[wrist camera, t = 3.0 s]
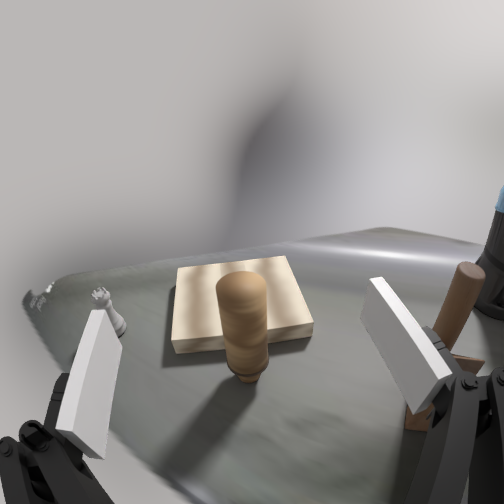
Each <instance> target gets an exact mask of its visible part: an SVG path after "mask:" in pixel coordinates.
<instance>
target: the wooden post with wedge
mask: <svg viewBox="0 0 504 504" xmlns="http://www.w3.org/2000/svg"><path fill="white" fill-rule="evenodd" d="M485 278H486V276H485V272H484V271H483V269H482V268H481V267H479V266H478V265H476V264H474V263H471V262H461V263H460V264H459V265H458V266H457V269H456V272H455V274H454V277H453V280H452V283H451V285H450V288H449V291H448V293H447V296H446V298H445V301H444V303H443V306H442V308H441V311H440V313H439V315H438V318H437V320H436V322H435V324H434V327H433V329H432V330H433V331H435V332H436V333H437V335H438V336H439V337H440V339H441V341H442V342H443V343H444V344H445V346H446V348H447V349H448V350H449V351H451V349H452V347H453V346H454V344H455V342H456V340H457V338H458V336H459V335H460V333H461V331H462V329H463V327H464V325H465V323H466V321H467V319H468V317H469V315H470V313H471V311H472V309H473V306H474V304H475V302H476V300H477V298H478V295H479V293H480V291H481V288H482V286H483V283H484V281H485ZM452 356H453V357H454V358H455V360H456V361H457V363H458V364H459V366H460V367H461V369H462V370H463V371H467V372H471V373H473V374H474V375H476V374H477V373H478V371H479V370H480V369H481V367H482V366H483V364H484V363H485V361H484V360H480V359H475V358H470V357H465V356H459V355H455V354H452ZM433 408H434V405H433V403H432V402H431V404H430V405H429V406H428V408H427V409H426V410H423V411H421V412H419V413H416V414H414V415H413V414H412V412H411V410H410V408H409V406H408V407H407V413H406V420H405V429H409V430H417V431H427V430H428V427H429V422H430V418H431V416H430V418H429V419H428V420H425V419H426V417H427V415H428V414H429V413H430V412H431V410H432V409H433Z"/></svg>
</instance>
